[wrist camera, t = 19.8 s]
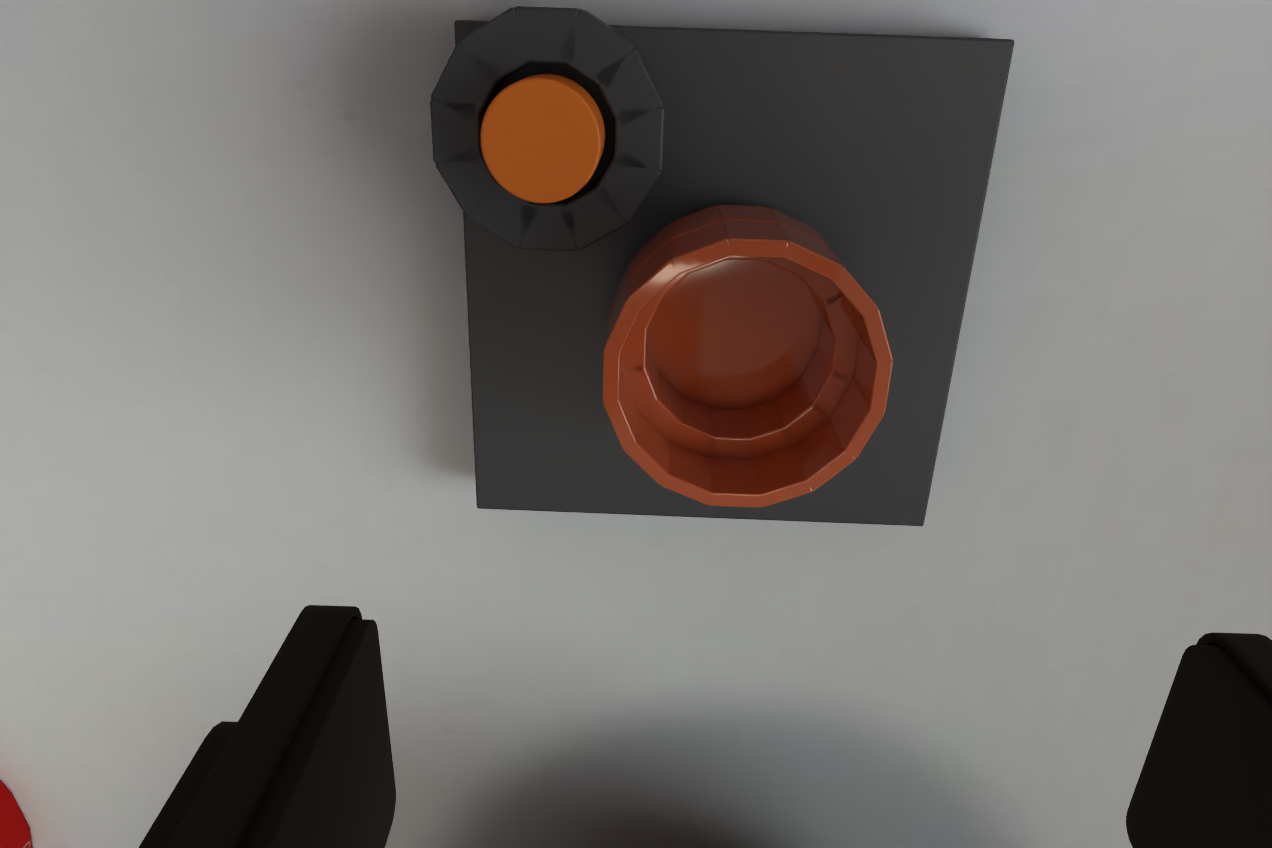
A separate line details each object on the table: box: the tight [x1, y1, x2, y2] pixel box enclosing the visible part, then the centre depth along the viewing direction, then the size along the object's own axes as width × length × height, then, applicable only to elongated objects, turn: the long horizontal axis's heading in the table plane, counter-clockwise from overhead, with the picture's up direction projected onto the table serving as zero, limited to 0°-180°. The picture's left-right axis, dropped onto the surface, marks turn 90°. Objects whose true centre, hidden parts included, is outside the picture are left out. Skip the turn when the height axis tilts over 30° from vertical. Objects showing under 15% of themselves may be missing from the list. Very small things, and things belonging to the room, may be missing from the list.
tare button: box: [480, 74, 605, 203], centre depth 22 cm, size 3×3×2 cm
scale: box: [430, 6, 1014, 526], centre depth 25 cm, size 14×14×4 cm
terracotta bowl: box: [603, 205, 893, 508], centre depth 23 cm, size 7×7×5 cm
